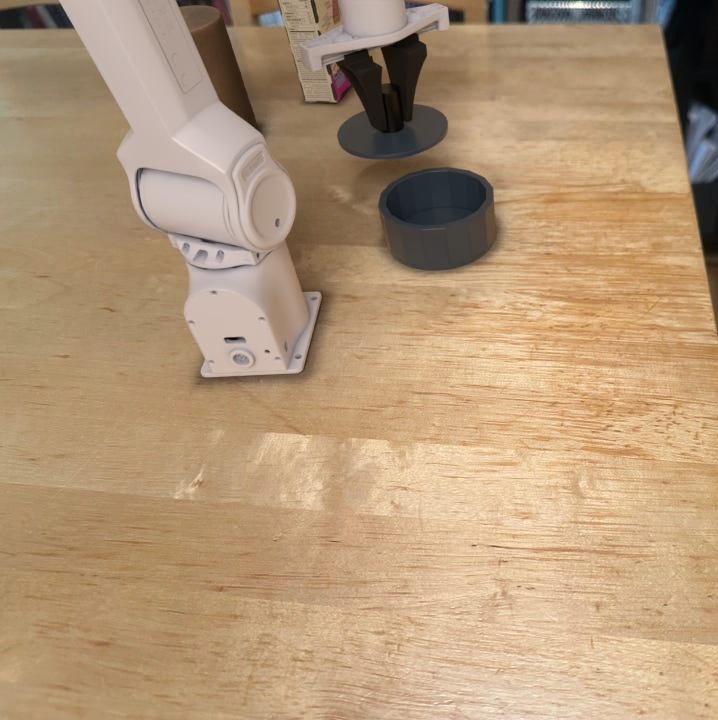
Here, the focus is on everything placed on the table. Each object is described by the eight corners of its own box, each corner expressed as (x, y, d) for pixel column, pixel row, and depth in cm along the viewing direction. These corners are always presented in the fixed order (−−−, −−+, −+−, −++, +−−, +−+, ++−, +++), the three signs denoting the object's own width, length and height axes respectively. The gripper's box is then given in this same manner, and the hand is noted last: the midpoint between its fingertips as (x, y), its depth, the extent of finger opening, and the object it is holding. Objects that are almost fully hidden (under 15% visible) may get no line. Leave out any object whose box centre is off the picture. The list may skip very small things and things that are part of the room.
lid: (447, 162, 62) (441, 110, 59) (331, 168, 63) (318, 117, 59) (450, 110, 70) (445, 61, 67) (347, 116, 71) (337, 68, 67)
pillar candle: (276, 131, 80) (237, -2, 70) (214, 167, 75) (161, 28, 64) (224, 116, 84) (178, -13, 74) (161, 148, 79) (103, 15, 68)
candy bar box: (332, 69, 93) (302, -65, 81) (365, 70, 92) (340, -66, 81) (301, 103, 85) (264, -39, 74) (337, 104, 85) (305, -40, 73)
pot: (496, 267, 58) (494, 225, 55) (381, 273, 59) (372, 232, 56) (494, 204, 66) (492, 164, 62) (392, 210, 66) (384, 170, 63)
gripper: (413, -57, 61) (430, 89, 70) (269, -20, 55) (309, 132, 65) (456, -43, 57) (468, 110, 66) (304, -2, 51) (341, 158, 61)
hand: (391, 122), depth 65 cm, fingers closed on lid, 2 cm apart
